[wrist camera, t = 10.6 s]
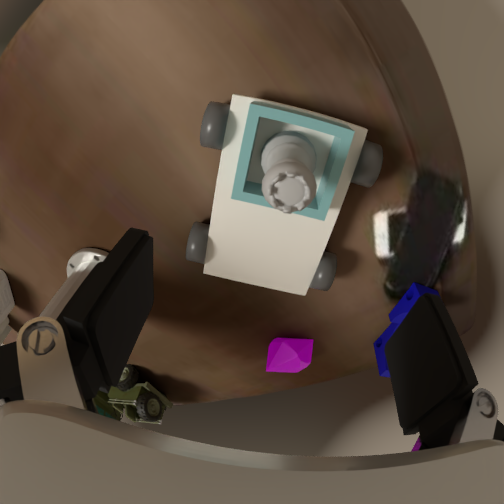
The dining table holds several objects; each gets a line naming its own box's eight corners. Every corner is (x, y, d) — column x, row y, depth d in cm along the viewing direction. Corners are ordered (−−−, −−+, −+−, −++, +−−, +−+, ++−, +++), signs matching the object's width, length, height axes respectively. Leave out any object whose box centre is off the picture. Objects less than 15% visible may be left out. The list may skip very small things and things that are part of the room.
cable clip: (413, 281, 32) (428, 315, 27) (436, 289, 33) (452, 322, 28) (365, 340, 39) (371, 374, 34) (388, 345, 39) (395, 378, 34)
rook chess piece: (325, 167, 23) (341, 209, 16) (277, 190, 25) (274, 239, 18) (299, 119, 21) (306, 141, 14) (250, 145, 23) (234, 179, 16)
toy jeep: (75, 364, 55) (56, 401, 46) (150, 361, 48) (131, 412, 39) (107, 393, 61) (93, 428, 52) (184, 395, 54) (172, 441, 45)
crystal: (292, 357, 42) (292, 382, 38) (263, 343, 41) (261, 369, 37) (315, 340, 39) (317, 367, 36) (285, 325, 38) (284, 352, 34)
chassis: (318, 281, 33) (322, 315, 29) (194, 253, 33) (180, 284, 28) (377, 130, 23) (397, 144, 19) (218, 89, 23) (201, 92, 18)
